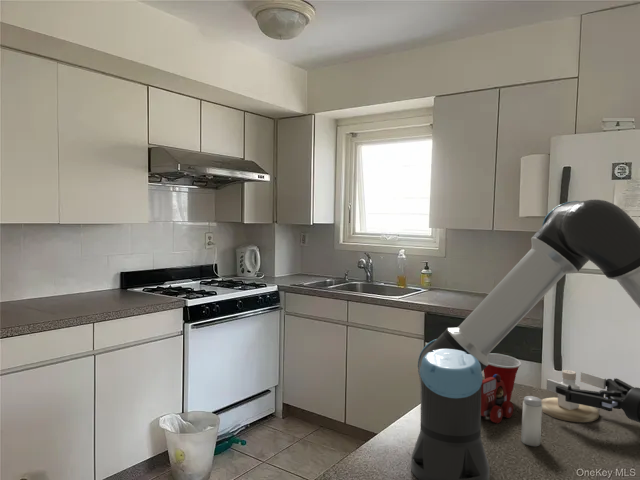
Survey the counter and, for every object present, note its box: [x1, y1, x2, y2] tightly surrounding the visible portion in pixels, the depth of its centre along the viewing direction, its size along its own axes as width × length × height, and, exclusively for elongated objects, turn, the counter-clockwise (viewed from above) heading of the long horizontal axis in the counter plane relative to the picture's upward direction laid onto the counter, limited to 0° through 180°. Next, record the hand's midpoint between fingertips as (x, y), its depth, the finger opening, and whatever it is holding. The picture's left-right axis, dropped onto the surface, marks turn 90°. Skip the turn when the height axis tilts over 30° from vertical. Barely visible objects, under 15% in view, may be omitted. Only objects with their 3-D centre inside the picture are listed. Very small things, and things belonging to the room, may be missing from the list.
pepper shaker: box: [557, 369, 581, 410], centre depth 126 cm, size 4×4×10 cm
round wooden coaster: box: [541, 397, 600, 423], centre depth 126 cm, size 14×14×1 cm
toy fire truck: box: [481, 374, 514, 424], centre depth 123 cm, size 7×12×10 cm, turn 130°
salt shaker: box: [520, 395, 543, 447], centre depth 108 cm, size 4×4×10 cm
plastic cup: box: [483, 352, 522, 402], centre depth 133 cm, size 11×11×12 cm
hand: (564, 380), depth 127 cm, fingers open, 13 cm apart
